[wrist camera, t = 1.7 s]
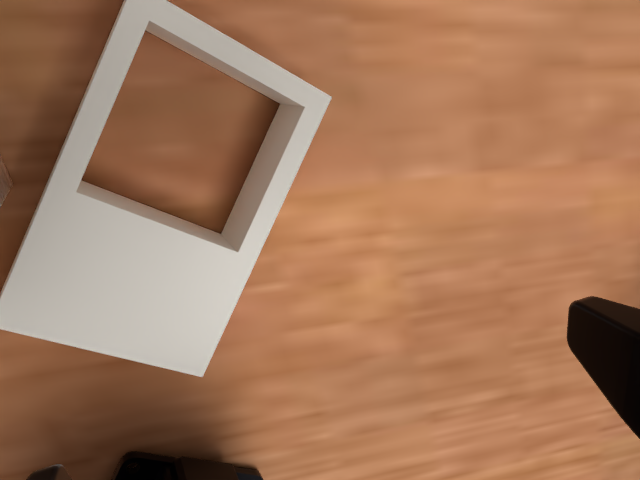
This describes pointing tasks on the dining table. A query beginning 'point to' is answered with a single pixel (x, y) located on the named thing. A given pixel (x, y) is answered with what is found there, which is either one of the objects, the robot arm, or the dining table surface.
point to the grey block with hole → (152, 218)
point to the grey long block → (4, 181)
